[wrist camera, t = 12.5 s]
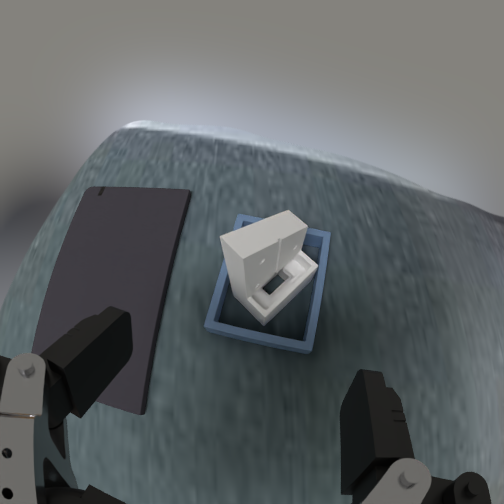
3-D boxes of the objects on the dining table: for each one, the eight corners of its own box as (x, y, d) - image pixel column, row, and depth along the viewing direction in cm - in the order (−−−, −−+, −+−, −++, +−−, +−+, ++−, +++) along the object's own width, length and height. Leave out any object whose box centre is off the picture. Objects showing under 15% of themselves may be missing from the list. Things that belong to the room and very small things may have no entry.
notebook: (146, 414, 21) (192, 198, 30) (139, 415, 19) (189, 189, 29) (37, 374, 21) (92, 194, 31) (27, 372, 20) (87, 186, 29)
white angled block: (187, 323, 21) (219, 236, 16) (268, 274, 28) (311, 201, 23) (220, 359, 20) (268, 283, 14) (296, 300, 27) (347, 230, 22)
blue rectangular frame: (326, 243, 27) (330, 232, 25) (307, 354, 22) (311, 350, 20) (239, 225, 28) (238, 213, 26) (207, 331, 23) (203, 326, 21)
